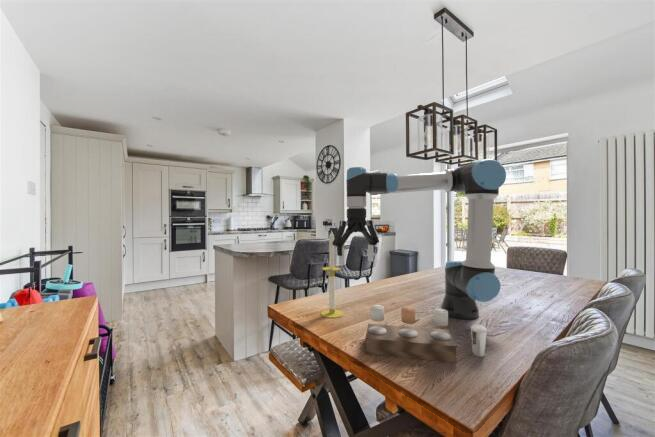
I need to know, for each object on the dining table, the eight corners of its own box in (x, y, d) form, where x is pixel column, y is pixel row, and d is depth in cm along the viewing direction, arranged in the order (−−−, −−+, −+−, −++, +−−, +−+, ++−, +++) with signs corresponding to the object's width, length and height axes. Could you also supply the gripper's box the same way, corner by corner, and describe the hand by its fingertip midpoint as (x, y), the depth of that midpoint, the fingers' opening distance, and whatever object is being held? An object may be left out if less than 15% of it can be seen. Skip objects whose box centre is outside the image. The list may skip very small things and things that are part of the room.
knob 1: (384, 317, 98) (384, 305, 98) (383, 321, 93) (383, 309, 93) (371, 316, 99) (371, 304, 99) (370, 320, 94) (370, 308, 94)
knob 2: (446, 321, 93) (446, 309, 93) (449, 326, 89) (449, 313, 89) (432, 320, 94) (432, 308, 94) (434, 325, 90) (434, 312, 90)
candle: (336, 319, 120) (335, 230, 119) (316, 315, 125) (315, 229, 124) (347, 312, 128) (346, 229, 127) (328, 308, 134) (327, 228, 133)
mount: (448, 344, 97) (448, 328, 97) (456, 362, 85) (456, 344, 85) (368, 337, 103) (368, 322, 103) (365, 353, 91) (365, 336, 91)
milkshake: (465, 351, 92) (465, 320, 92) (481, 350, 93) (481, 320, 92) (473, 358, 88) (473, 326, 87) (490, 357, 88) (490, 325, 88)
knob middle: (414, 319, 96) (414, 307, 95) (415, 324, 91) (415, 311, 91) (401, 318, 97) (401, 306, 96) (401, 323, 92) (401, 310, 92)
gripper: (376, 208, 120) (376, 258, 120) (323, 208, 108) (323, 264, 108) (387, 207, 113) (388, 261, 114) (333, 207, 101) (333, 267, 102)
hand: (356, 262), depth 111 cm, fingers open, 13 cm apart
